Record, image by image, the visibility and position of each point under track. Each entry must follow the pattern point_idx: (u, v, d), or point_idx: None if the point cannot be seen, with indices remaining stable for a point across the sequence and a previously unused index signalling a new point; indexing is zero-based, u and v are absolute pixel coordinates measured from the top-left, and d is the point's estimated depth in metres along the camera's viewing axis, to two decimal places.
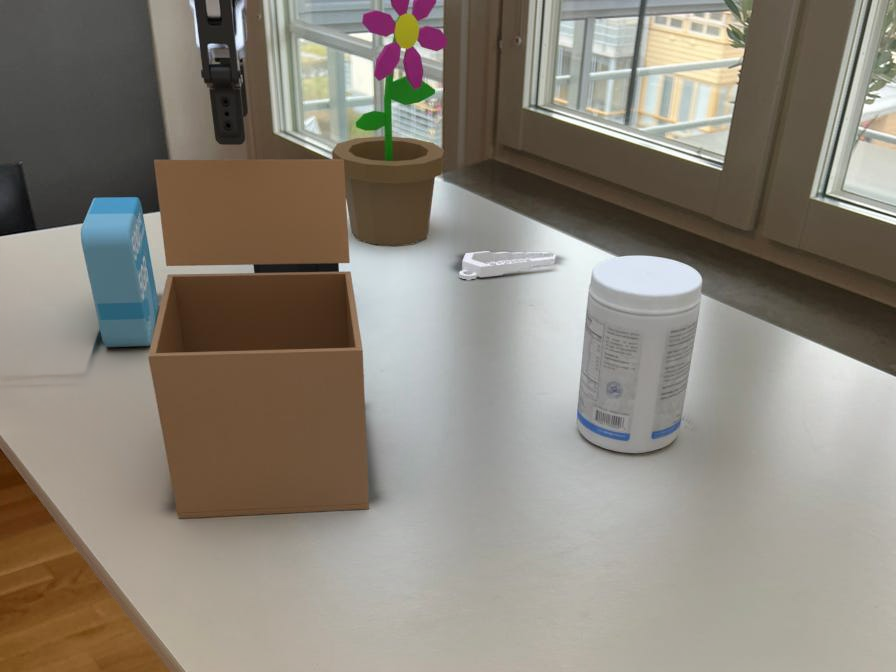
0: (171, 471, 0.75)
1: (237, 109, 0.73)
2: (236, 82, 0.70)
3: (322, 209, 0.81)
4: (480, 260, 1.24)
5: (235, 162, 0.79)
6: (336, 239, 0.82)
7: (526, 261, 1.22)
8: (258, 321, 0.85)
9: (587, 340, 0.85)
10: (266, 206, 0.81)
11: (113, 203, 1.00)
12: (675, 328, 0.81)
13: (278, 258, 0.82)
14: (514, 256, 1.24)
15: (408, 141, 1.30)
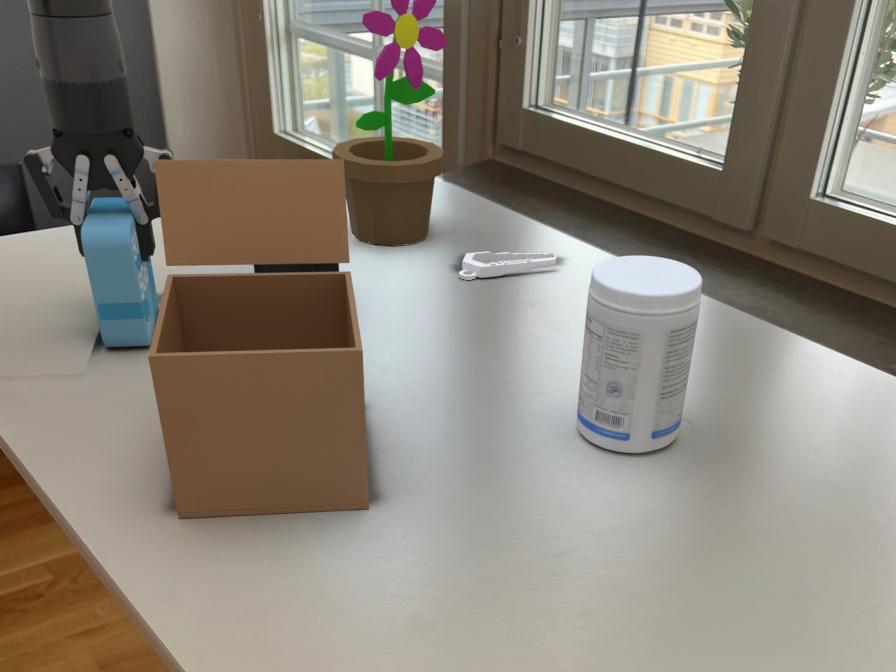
0: (171, 471, 0.75)
1: None
2: None
3: (322, 209, 0.81)
4: (481, 260, 1.24)
5: (235, 162, 0.79)
6: (336, 239, 0.82)
7: (526, 262, 1.22)
8: (258, 321, 0.85)
9: (587, 340, 0.85)
10: (266, 206, 0.81)
11: (113, 203, 1.00)
12: (675, 328, 0.81)
13: (278, 258, 0.82)
14: (515, 256, 1.24)
15: (408, 141, 1.30)
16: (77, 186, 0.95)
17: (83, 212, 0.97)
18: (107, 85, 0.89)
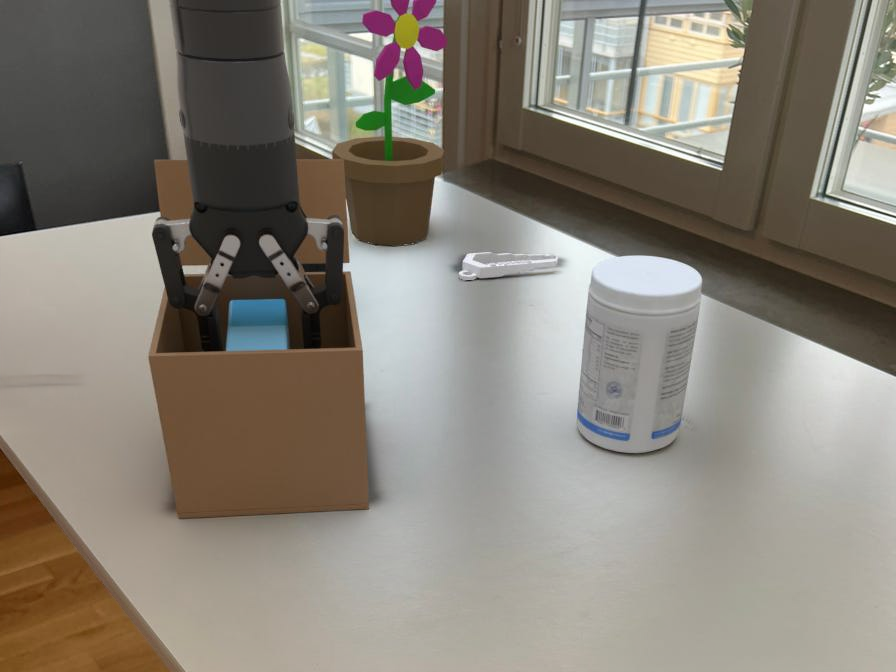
0: (171, 471, 0.75)
1: (207, 332, 0.76)
2: (173, 306, 0.74)
3: (322, 209, 0.81)
4: (482, 261, 1.24)
5: None
6: None
7: (527, 263, 1.21)
8: None
9: (587, 340, 0.85)
10: None
11: (257, 309, 0.79)
12: (675, 328, 0.81)
13: None
14: (516, 257, 1.24)
15: (408, 141, 1.30)
16: (215, 271, 0.73)
17: (211, 300, 0.74)
18: (274, 147, 0.67)
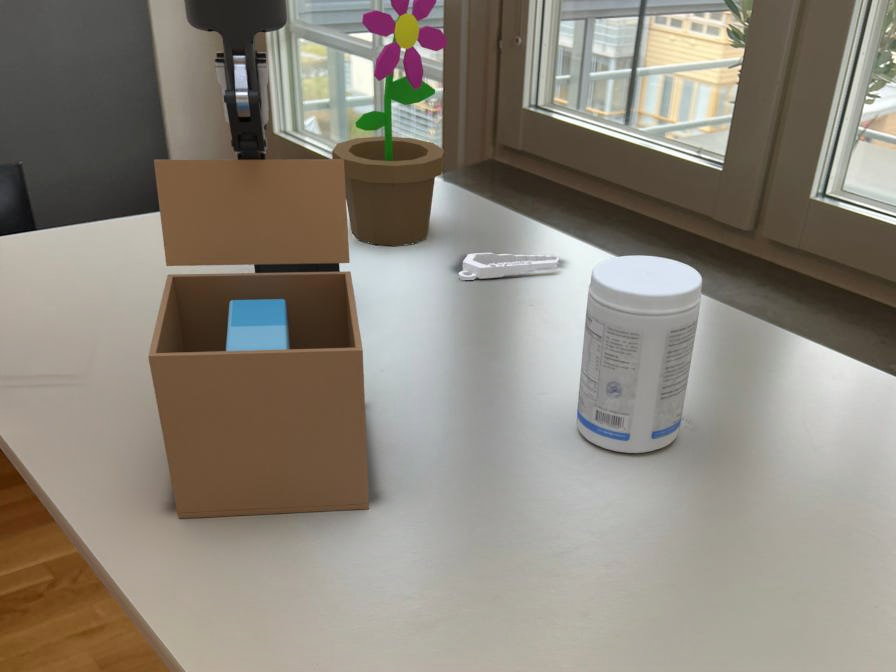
0: (171, 471, 0.75)
1: None
2: (262, 151, 0.79)
3: (322, 209, 0.81)
4: (483, 261, 1.24)
5: (235, 162, 0.79)
6: (336, 239, 0.82)
7: (527, 264, 1.21)
8: None
9: (587, 339, 0.85)
10: (266, 206, 0.81)
11: (257, 309, 0.79)
12: (675, 328, 0.81)
13: (278, 258, 0.82)
14: (517, 258, 1.23)
15: (408, 141, 1.30)
16: (267, 103, 0.78)
17: (263, 135, 0.81)
18: None
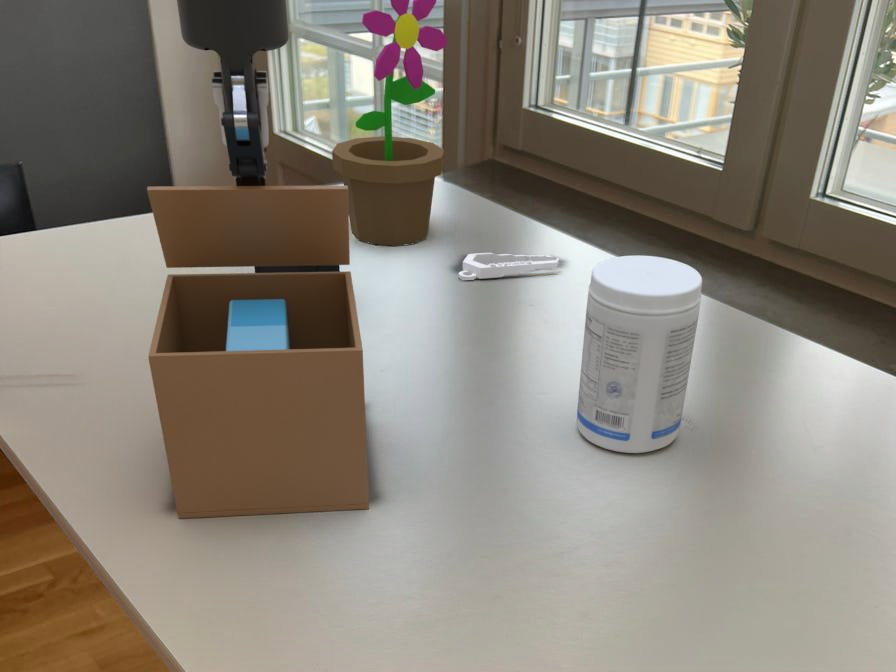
0: (171, 471, 0.75)
1: None
2: (262, 175, 0.75)
3: (324, 227, 0.79)
4: (483, 261, 1.24)
5: (233, 191, 0.75)
6: (337, 248, 0.81)
7: (527, 264, 1.21)
8: None
9: (587, 339, 0.85)
10: (266, 225, 0.78)
11: (257, 309, 0.79)
12: (675, 328, 0.81)
13: (278, 262, 0.82)
14: (517, 258, 1.23)
15: (408, 141, 1.30)
16: (267, 125, 0.74)
17: (263, 158, 0.76)
18: None
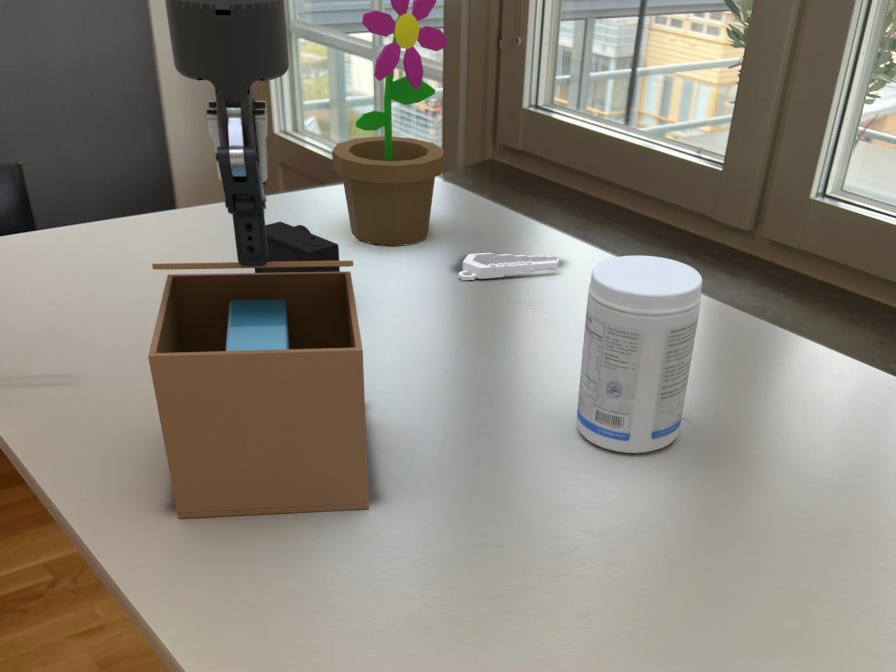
0: (171, 471, 0.75)
1: (260, 233, 0.73)
2: None
3: None
4: (483, 261, 1.24)
5: (239, 267, 0.75)
6: None
7: (527, 264, 1.21)
8: None
9: (587, 340, 0.85)
10: None
11: (257, 309, 0.79)
12: (675, 328, 0.81)
13: None
14: (517, 258, 1.23)
15: (408, 141, 1.30)
16: (266, 158, 0.69)
17: None
18: None
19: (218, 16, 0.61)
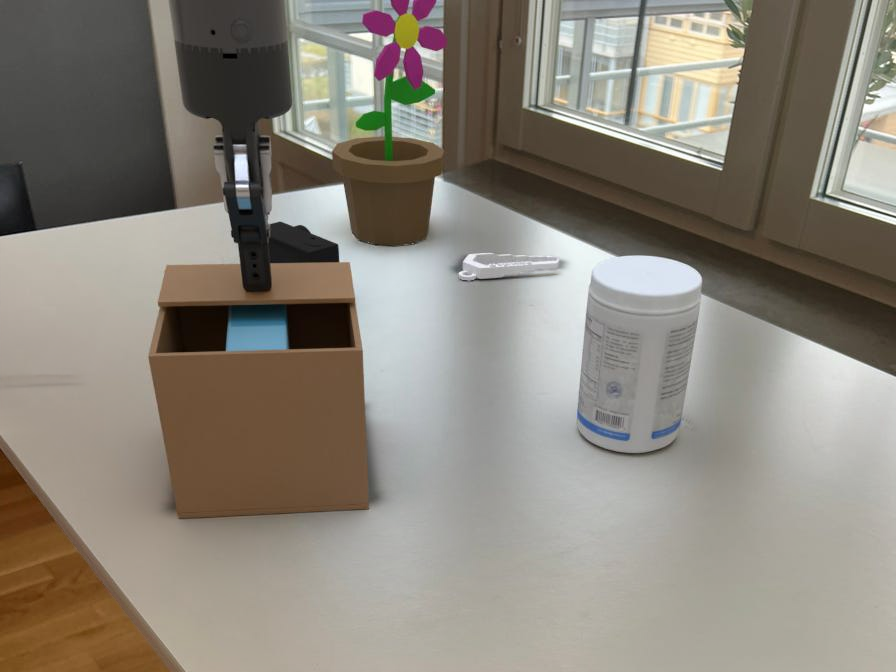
0: (171, 471, 0.75)
1: (264, 260, 0.76)
2: (265, 241, 0.73)
3: None
4: (483, 262, 1.24)
5: None
6: None
7: (527, 264, 1.21)
8: None
9: (587, 339, 0.85)
10: None
11: (257, 309, 0.79)
12: (675, 328, 0.81)
13: None
14: (517, 259, 1.23)
15: (408, 141, 1.30)
16: (270, 191, 0.72)
17: None
18: None
19: (225, 59, 0.64)
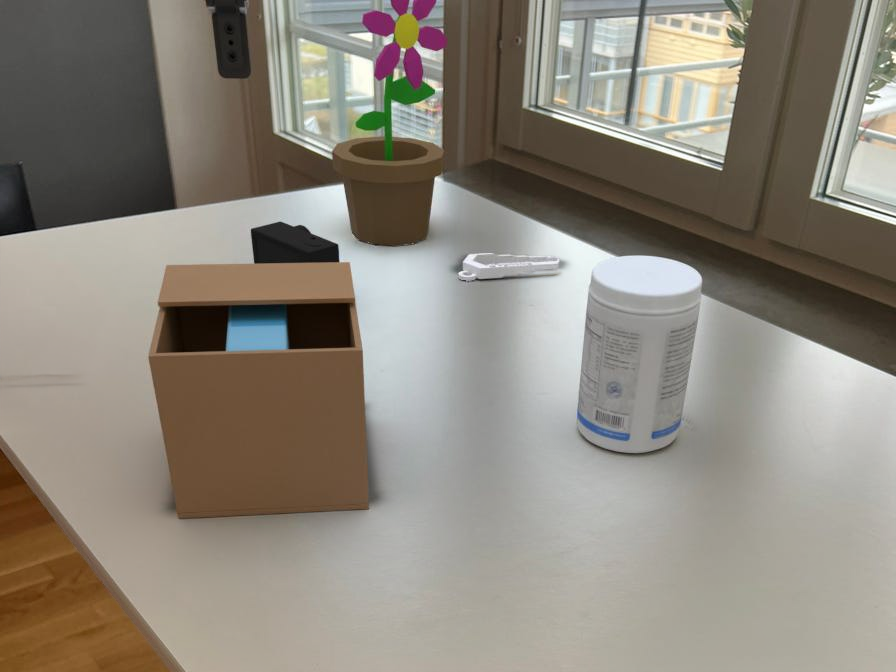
0: (171, 471, 0.75)
1: (242, 38, 0.66)
2: (242, 7, 0.64)
3: None
4: (484, 262, 1.24)
5: None
6: None
7: (527, 265, 1.21)
8: None
9: (587, 340, 0.85)
10: None
11: (257, 309, 0.79)
12: (675, 328, 0.81)
13: None
14: (517, 259, 1.23)
15: (408, 141, 1.30)
16: None
17: None
18: None
19: None
